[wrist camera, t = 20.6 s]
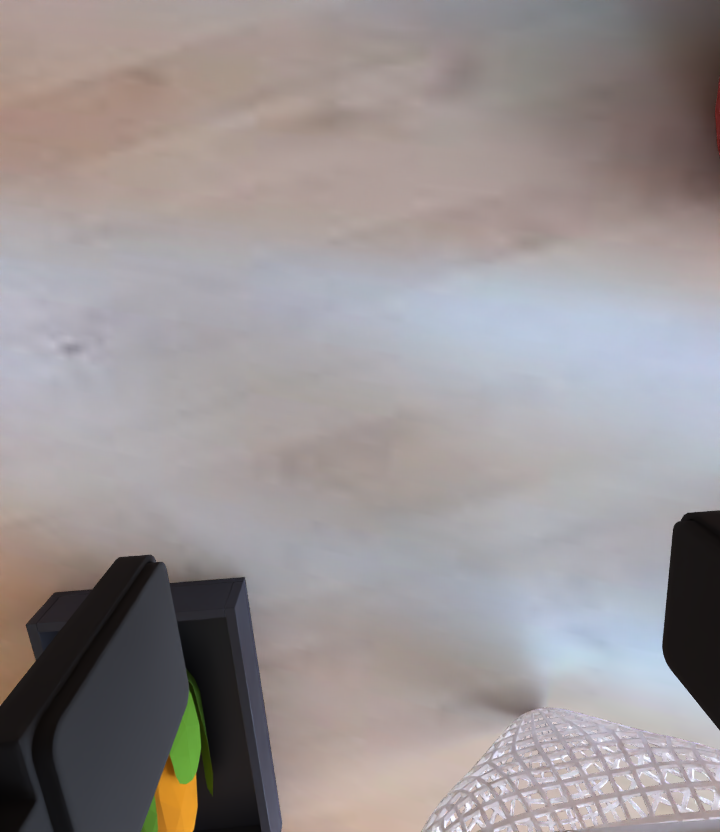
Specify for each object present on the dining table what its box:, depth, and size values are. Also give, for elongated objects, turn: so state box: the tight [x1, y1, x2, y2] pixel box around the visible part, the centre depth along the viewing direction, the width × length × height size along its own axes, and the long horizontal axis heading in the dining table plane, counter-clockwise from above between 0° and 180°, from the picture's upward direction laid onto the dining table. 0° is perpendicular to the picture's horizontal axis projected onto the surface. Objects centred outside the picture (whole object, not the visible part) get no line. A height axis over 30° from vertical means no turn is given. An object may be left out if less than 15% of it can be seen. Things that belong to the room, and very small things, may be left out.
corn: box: [141, 669, 213, 832], centre depth 43 cm, size 7×8×20 cm
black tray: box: [26, 577, 282, 832], centre depth 45 cm, size 16×27×4 cm, turn 4°
